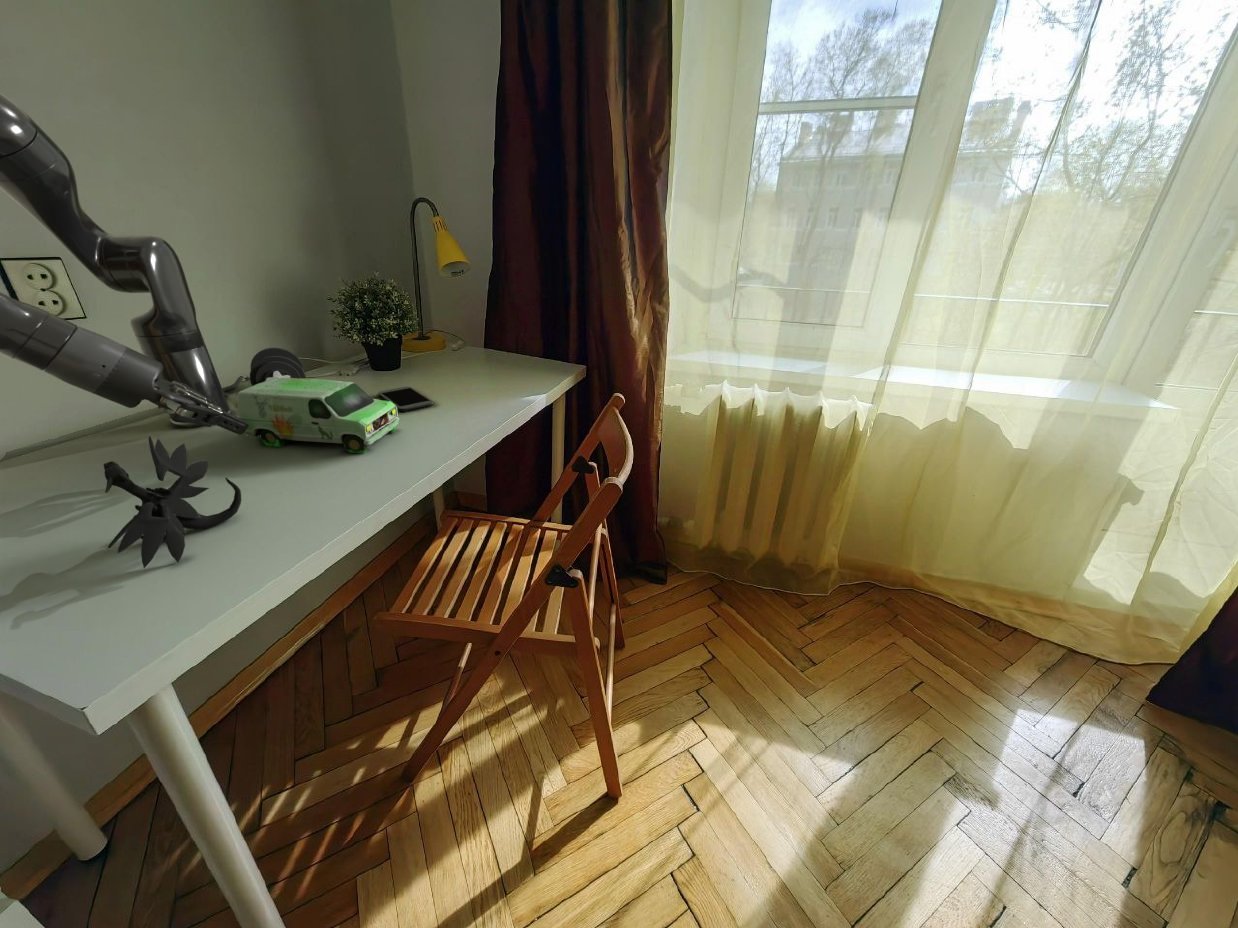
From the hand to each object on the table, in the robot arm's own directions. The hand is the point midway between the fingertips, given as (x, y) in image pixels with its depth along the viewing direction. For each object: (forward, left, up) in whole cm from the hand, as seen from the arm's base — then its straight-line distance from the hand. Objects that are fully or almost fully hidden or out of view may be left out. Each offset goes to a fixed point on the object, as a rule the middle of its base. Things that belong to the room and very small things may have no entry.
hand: (245, 428), depth 79 cm
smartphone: (-14, +29, -6) cm, 33 cm away
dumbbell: (-34, +9, -6) cm, 36 cm away
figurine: (+23, -10, -6) cm, 25 cm away
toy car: (-3, +11, -6) cm, 13 cm away
